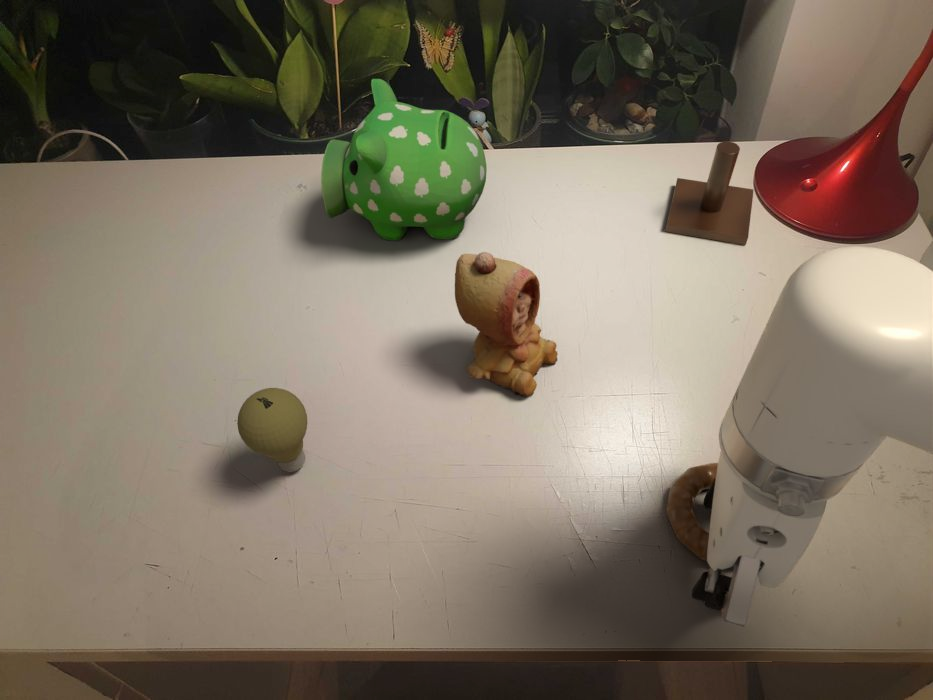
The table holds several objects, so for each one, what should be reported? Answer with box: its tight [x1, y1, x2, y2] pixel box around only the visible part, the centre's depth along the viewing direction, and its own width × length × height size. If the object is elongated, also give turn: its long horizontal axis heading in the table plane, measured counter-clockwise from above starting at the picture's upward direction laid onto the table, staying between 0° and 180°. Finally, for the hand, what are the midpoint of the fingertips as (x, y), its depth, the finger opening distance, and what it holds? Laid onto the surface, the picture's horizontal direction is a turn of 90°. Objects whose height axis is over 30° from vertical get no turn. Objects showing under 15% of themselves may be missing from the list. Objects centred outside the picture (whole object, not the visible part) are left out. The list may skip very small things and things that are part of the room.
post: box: [665, 140, 754, 246], centre depth 75 cm, size 9×9×9 cm
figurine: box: [454, 251, 558, 398], centre depth 62 cm, size 10×8×15 cm
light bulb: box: [236, 387, 308, 473], centre depth 57 cm, size 6×6×10 cm
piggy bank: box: [320, 78, 487, 242], centre depth 75 cm, size 14×18×15 cm
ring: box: [666, 462, 718, 562], centre depth 54 cm, size 9×9×2 cm
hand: (718, 552), depth 52 cm, fingers open, 7 cm apart
